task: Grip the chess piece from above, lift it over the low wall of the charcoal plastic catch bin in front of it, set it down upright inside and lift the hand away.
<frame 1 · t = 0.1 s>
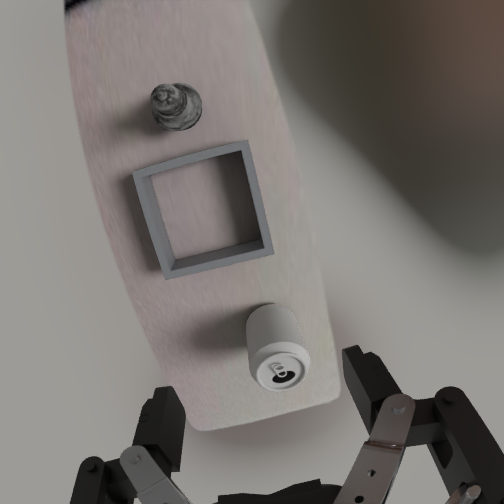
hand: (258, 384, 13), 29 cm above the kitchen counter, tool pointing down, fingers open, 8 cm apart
catch bin: (205, 206, 40), on the kitchen counter
can: (270, 322, 46), on the kitchen counter
chess piece: (181, 110, 36), on the kitchen counter
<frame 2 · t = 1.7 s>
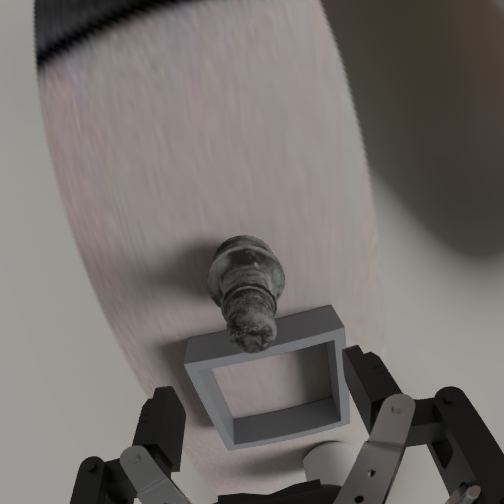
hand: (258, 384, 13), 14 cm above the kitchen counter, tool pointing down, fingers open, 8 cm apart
catch bin: (273, 375, 31), on the kitchen counter
can: (326, 451, 38), on the kitchen counter
chess piece: (244, 264, 27), on the kitchen counter
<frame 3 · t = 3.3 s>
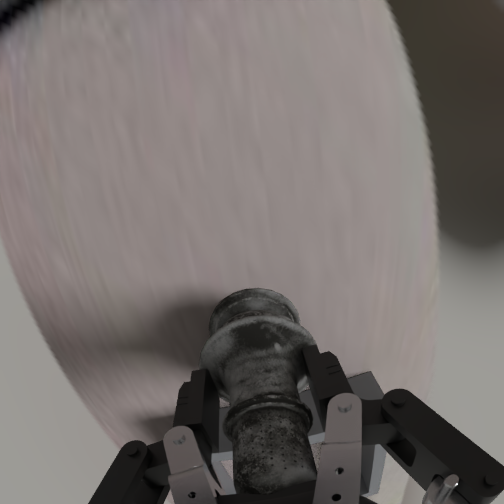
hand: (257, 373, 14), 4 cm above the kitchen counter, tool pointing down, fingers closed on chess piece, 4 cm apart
catch bin: (289, 449, 22), on the kitchen counter
chess piece: (254, 327, 18), on the kitchen counter, touching gripper
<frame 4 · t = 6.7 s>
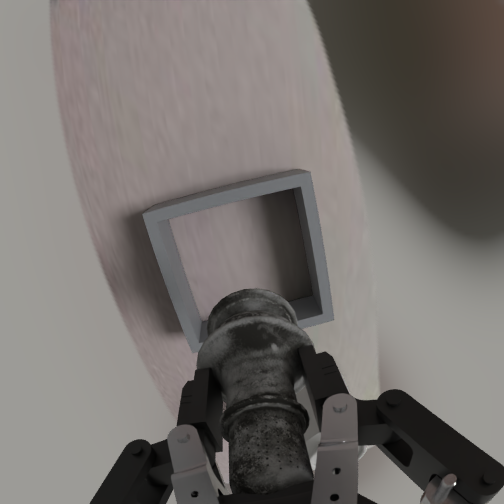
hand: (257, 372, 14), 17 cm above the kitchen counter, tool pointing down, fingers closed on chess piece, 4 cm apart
catch bin: (243, 256, 30), on the kitchen counter
can: (313, 384, 36), on the kitchen counter
chess piece: (252, 327, 18), point 13 cm above the kitchen counter, touching gripper
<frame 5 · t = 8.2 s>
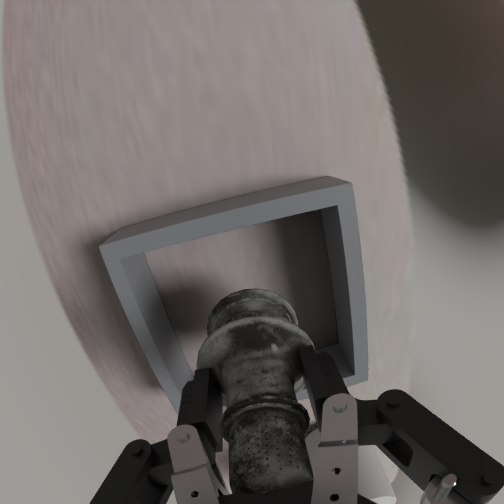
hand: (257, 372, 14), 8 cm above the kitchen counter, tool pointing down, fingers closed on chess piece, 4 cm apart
catch bin: (248, 298, 22), on the kitchen counter
can: (331, 435, 28), on the kitchen counter
chess piece: (252, 327, 18), point 4 cm above the kitchen counter, touching gripper
when the fingers open (5 cm above the kitchen counter, at t = 9.6 s): chess piece drops 1 cm, resting in catch bin.
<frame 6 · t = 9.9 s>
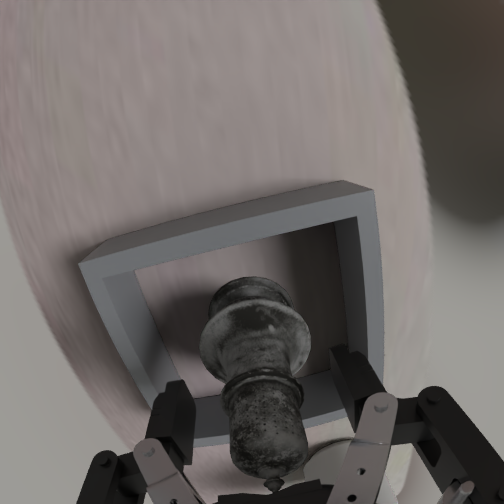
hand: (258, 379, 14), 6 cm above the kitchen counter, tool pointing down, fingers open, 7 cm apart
catch bin: (250, 317, 19), on the kitchen counter
can: (337, 455, 25), on the kitchen counter
chess piece: (251, 314, 19), resting in catch bin
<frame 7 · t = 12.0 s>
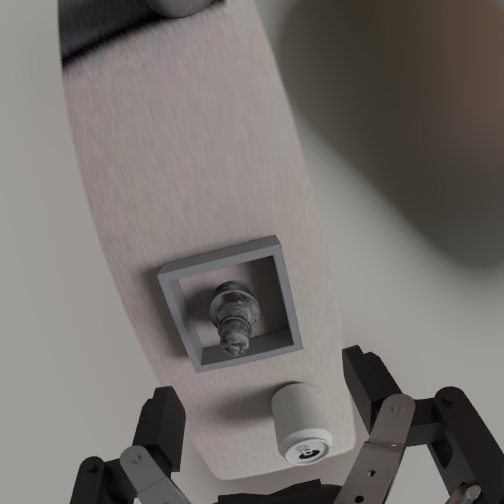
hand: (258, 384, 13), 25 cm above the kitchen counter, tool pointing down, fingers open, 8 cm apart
catch bin: (233, 301, 39), on the kitchen counter
can: (294, 396, 45), on the kitchen counter
chess piece: (234, 299, 39), resting in catch bin
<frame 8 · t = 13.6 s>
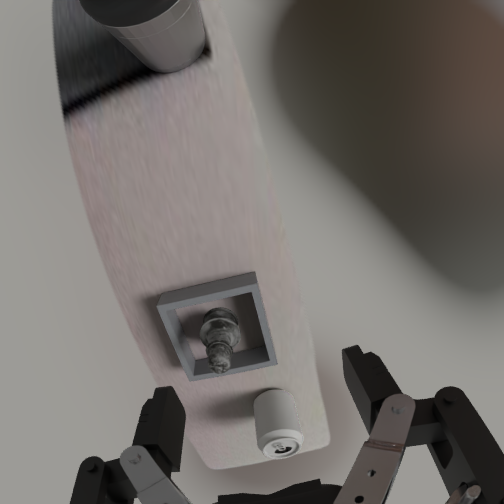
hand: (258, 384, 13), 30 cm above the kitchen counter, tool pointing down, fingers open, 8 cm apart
catch bin: (220, 323, 46), on the kitchen counter
can: (273, 399, 53), on the kitchen counter
chess piece: (220, 322, 46), resting in catch bin
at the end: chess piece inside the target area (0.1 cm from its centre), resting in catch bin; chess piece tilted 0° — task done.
